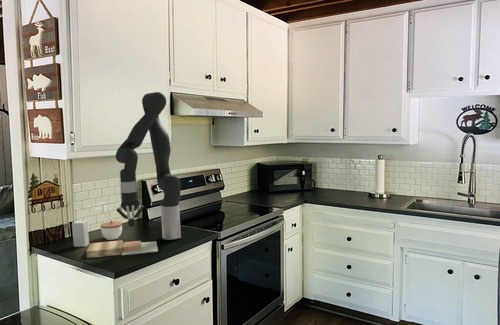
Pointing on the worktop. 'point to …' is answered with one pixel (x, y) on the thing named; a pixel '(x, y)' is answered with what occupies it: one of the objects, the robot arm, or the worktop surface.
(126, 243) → the terracotta coaster
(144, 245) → the sage mat
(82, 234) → the skincare box
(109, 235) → the lidded jar
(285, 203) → the worktop surface
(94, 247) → the oak board
